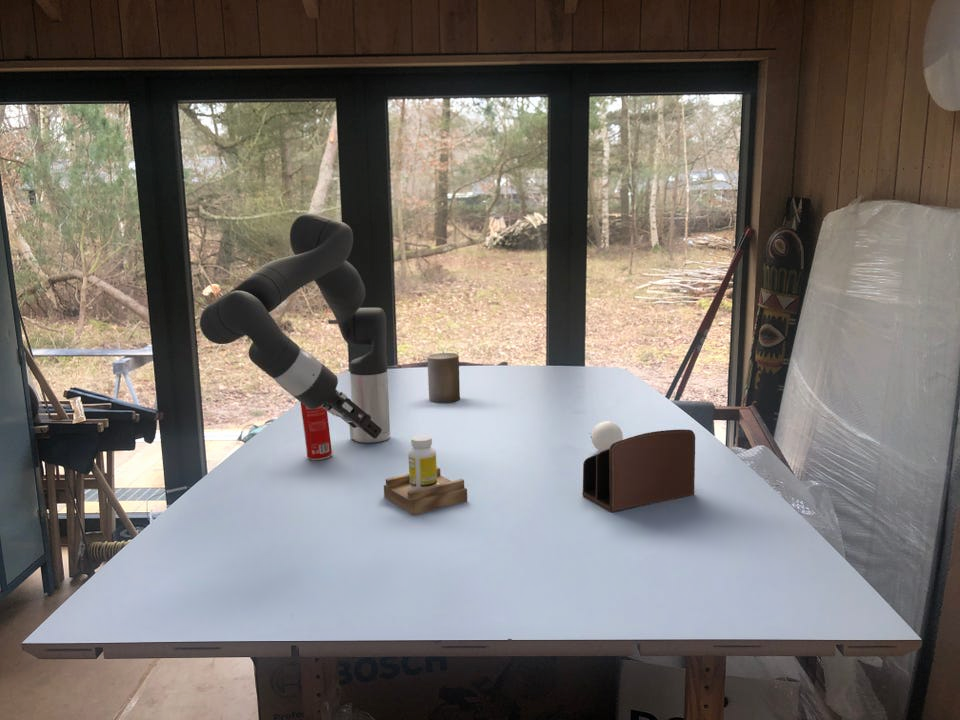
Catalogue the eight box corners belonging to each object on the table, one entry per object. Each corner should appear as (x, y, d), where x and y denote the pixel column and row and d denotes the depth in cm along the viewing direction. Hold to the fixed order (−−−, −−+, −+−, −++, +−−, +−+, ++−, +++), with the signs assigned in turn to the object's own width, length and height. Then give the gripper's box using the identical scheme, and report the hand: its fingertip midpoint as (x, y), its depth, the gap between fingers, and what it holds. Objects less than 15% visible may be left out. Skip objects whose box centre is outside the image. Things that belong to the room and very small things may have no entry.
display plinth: (413, 515, 142) (412, 495, 141) (384, 496, 151) (383, 477, 151) (467, 501, 148) (466, 481, 147) (435, 484, 158) (435, 465, 157)
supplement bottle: (441, 482, 151) (439, 435, 149) (430, 492, 146) (428, 442, 144) (416, 480, 153) (414, 433, 151) (405, 489, 148) (402, 440, 146)
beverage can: (336, 454, 180) (333, 392, 177) (320, 462, 174) (316, 399, 171) (316, 452, 182) (312, 391, 180) (299, 459, 177) (294, 397, 174)
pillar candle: (466, 397, 234) (464, 349, 232) (448, 404, 226) (446, 355, 224) (440, 394, 240) (439, 347, 237) (422, 401, 231) (420, 352, 229)
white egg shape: (629, 451, 177) (629, 420, 176) (611, 459, 172) (611, 427, 170) (593, 443, 184) (593, 414, 183) (575, 450, 179) (575, 420, 177)
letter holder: (695, 495, 149) (697, 425, 146) (611, 514, 141) (611, 440, 138) (662, 480, 158) (664, 414, 155) (581, 497, 149) (581, 427, 147)
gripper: (334, 366, 127) (398, 421, 136) (302, 354, 139) (363, 405, 147) (306, 402, 125) (372, 455, 134) (276, 387, 137) (339, 436, 145)
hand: (367, 428), depth 141 cm, fingers open, 8 cm apart
